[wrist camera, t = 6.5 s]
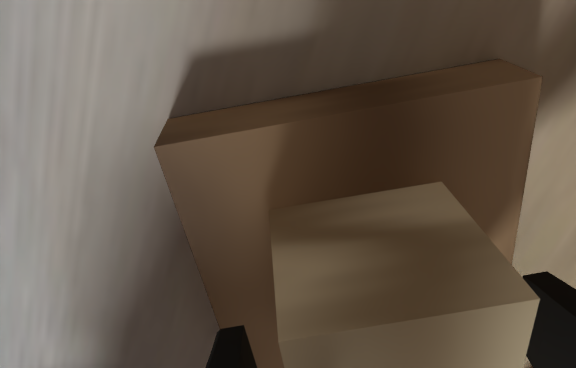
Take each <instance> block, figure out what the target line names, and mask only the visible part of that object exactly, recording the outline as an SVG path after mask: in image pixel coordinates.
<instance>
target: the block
mask: <svg viewBox="0 0 576 368" xmlns="http://www.w3.org/2000/svg"><path fill="white" fill-rule="evenodd" d="M269 220H270V234H271V248H272V261H273V275H274V289H275V303H276V317H277V330H278V343H279V347H280V351H281V355H282V360H283V364H284V368H523V365H524V361H525V357H526V353H527V349H528V345H529V341H530V337H531V333H532V329H533V325H534V321H535V317H536V313H537V309H538V305H539V301H540V298H539V297H538V296H537V295H536V293H535V292H534V291H533V290H532V289H531V288H530V286H529V285H528V284H527V283H526V282H525V280H524V279H523V278H522V277H521V276H520V274H519V273H518V272H517V271H516V270H515V268H514V267H513V266H512V265H511V264H510V262H509V261H508V260H507V259H506V258H505V256H504V255H503V254H502V253H501V252H500V251H499V249H498V248H497V247H496V246H495V245H494V243H493V242H492V241H491V240H490V239H489V237H488V236H487V235H486V234H485V233H484V231H483V230H482V229H481V228H480V227H479V225H478V224H477V223H476V222H475V221H474V220H473V218H472V217H471V216H470V215H469V214H468V212H467V211H466V210H465V209H464V208H463V206H462V205H461V204H460V203H459V202H458V200H457V199H456V198H455V197H454V196H453V194H452V193H451V192H450V191H449V190H448V189H447V187H446V186H445V185H444V184H443V183H442V182H436V183H430V184H423V185H417V186H411V187H405V188H399V189H393V190H387V191H381V192H375V193H369V194H363V195H357V196H351V197H344V198H338V199H332V200H326V201H320V202H314V203H308V204H302V205H296V206H290V207H284V208H278V209H271V210H269Z"/></svg>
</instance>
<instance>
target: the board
mask: <svg viewBox="0 0 576 368" xmlns="http://www.w3.org/2000/svg"><path fill="white" fill-rule="evenodd" d="M542 78H543V77H542V76H540V75H537V74H535V73H532V72H530V71H528V70H525V69H523V68H521V67H518V66H516V65H514V64H511V63H509V62H506V61H504V60H502V59H496V60H491V61H485V62H480V63H474V64H469V65H463V66H458V67H452V68H447V69H441V70H436V71H430V72H424V73H419V74H413V75H408V76H402V77H397V78H391V79H386V80H380V81H375V82H369V83H364V84H358V85H353V86H347V87H342V88H336V89H331V90H325V91H319V92H314V93H308V94H303V95H297V96H292V97H286V98H281V99H275V100H270V101H264V102H259V103H253V104H248V105H242V106H237V107H231V108H226V109H220V110H215V111H209V112H203V113H198V114H192V115H187V116H181V117H176V118H170V119H168V120H167V122H166V124H165V126H164V128H163V130H162V132H161V134H160V136H159V138H158V140H157V142H156V144H155V146H154V148H155V151H156V154H157V157H158V159H159V162H160V165H161V168H162V171H163V173H164V176H165V179H166V182H167V184H168V187H169V190H170V193H171V195H172V198H173V201H174V204H175V206H176V209H177V212H178V215H179V217H180V220H181V223H182V226H183V228H184V231H185V234H186V237H187V240H188V242H189V245H190V248H191V251H192V253H193V256H194V259H195V262H196V264H197V267H198V270H199V273H200V275H201V278H202V281H203V284H204V286H205V289H206V292H207V295H208V297H209V300H210V303H211V306H212V308H213V311H214V314H215V317H216V320H217V322H218V325H219V328H220V329H223V328H229V327H235V326H240V325H244V327H245V330H246V333H247V337H248V340H249V343H250V346H251V349H252V352H253V356H254V359H255V362H256V365H257V368H284V364H283V360H282V355H281V351H280V347H279V343H278V330H277V317H276V303H275V289H274V275H273V261H272V248H271V234H270V220H269V210H271V209H278V208H284V207H290V206H296V205H302V204H308V203H314V202H320V201H326V200H332V199H338V198H344V197H351V196H357V195H363V194H369V193H375V192H381V191H387V190H393V189H399V188H405V187H411V186H417V185H423V184H430V183H436V182H442V183H443V184H444V185H445V186H446V187H447V189H448V190H449V191H450V192H451V193H452V194H453V196H454V197H455V198H456V199H457V200H458V202H459V203H460V204H461V205H462V206H463V208H464V209H465V210H466V211H467V212H468V214H469V215H470V216H471V217H472V218H473V220H474V221H475V222H476V223H477V224H478V225H479V227H480V228H481V229H482V230H483V231H484V233H485V234H486V235H487V236H488V237H489V239H490V240H491V241H492V242H493V243H494V245H495V246H496V247H497V248H498V249H499V251H500V252H501V253H502V254H503V255H504V256H505V258H506V259H507V260H508V261H509V262H510V264H511V265H512V259H513V253H514V247H515V241H516V235H517V229H518V223H519V217H520V211H521V205H522V199H523V193H524V187H525V181H526V175H527V169H528V163H529V157H530V151H531V145H532V139H533V133H534V127H535V121H536V115H537V109H538V103H539V97H540V90H541V84H542Z"/></svg>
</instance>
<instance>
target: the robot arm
mask: <svg viewBox="0 0 576 368" xmlns="http://www.w3.org/2000/svg"><path fill="white" fill-rule="evenodd" d="M523 279H524V280H525V282H526V283H527V284H528V285H529V286H530V288H531V289H532V290H533V291H534V292H535V293H536V295H537V296H538V297H539V298H540V301H539V305H538V309H537V313H536V317H535V321H534V325H533V329H532V333H531V337H530V341H529V345H528V349H527V353H526V356H527V358H528V359H529V361H530V363H531V365H532V367H533V368H576V289H574V288H573V287H571V286H570V285H568V284H566V283H565V282H563V281H562V280H560V279H558V278H557V277H555V276H554V275H552V274H550V273H549V272H541V273H535V274H530V275H524V276H523ZM206 368H257V365H256V362H255V359H254V356H253V352H252V349H251V346H250V343H249V340H248V337H247V333H246V330H245V327H244V325H240V326H235V327H229V328H223V329H220V330H219V331H218V332H217V335H216V338H215V342H214V345H213V348H212V351H211V354H210V357H209V359H208V362H207V365H206Z"/></svg>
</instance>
